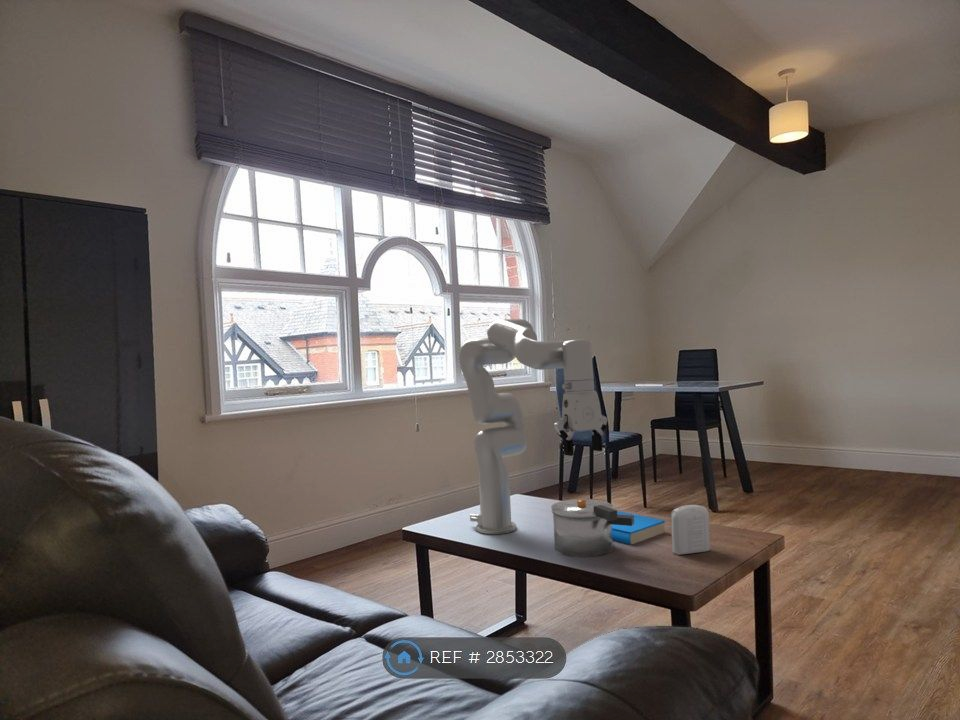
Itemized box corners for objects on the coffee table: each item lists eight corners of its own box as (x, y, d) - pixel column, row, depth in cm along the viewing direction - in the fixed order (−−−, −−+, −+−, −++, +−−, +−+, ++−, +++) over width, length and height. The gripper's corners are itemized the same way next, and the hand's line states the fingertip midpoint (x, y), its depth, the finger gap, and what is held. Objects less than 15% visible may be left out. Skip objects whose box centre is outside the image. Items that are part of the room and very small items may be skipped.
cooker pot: (546, 553, 173) (545, 516, 173) (564, 537, 188) (563, 503, 188) (627, 561, 164) (626, 522, 164) (640, 543, 178) (638, 508, 178)
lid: (540, 508, 181) (540, 498, 181) (590, 500, 188) (589, 490, 188) (586, 527, 160) (585, 515, 160) (639, 517, 167) (639, 506, 167)
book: (598, 507, 208) (665, 519, 189) (599, 520, 208) (666, 533, 189) (563, 517, 197) (630, 531, 177) (563, 531, 197) (630, 546, 177)
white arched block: (703, 547, 173) (701, 501, 173) (712, 551, 169) (710, 505, 169) (669, 551, 170) (667, 505, 170) (678, 556, 166) (676, 509, 166)
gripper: (562, 389, 158) (566, 458, 158) (614, 384, 167) (618, 450, 167) (544, 389, 165) (548, 455, 164) (594, 385, 174) (598, 447, 173)
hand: (583, 452), depth 166 cm, fingers open, 9 cm apart
